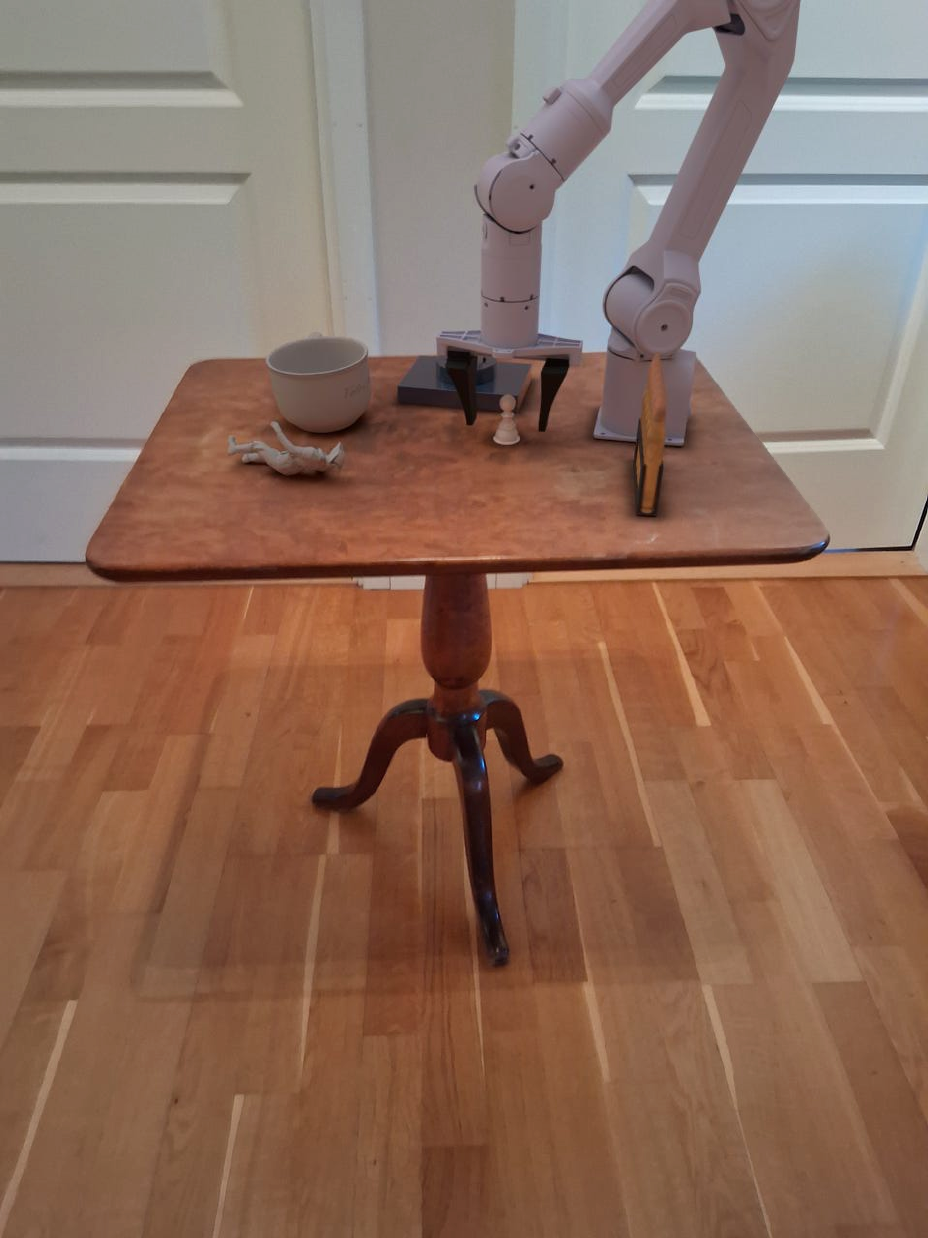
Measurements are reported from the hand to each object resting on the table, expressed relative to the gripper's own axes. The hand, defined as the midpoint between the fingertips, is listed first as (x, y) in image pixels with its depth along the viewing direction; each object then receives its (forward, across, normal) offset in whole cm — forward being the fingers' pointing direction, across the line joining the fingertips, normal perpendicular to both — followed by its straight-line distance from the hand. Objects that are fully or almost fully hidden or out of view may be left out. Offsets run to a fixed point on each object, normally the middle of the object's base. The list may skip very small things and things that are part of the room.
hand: (506, 424), depth 94 cm
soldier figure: (+2, -20, -12) cm, 23 cm away
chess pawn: (+2, 0, 0) cm, 2 cm away
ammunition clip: (+2, +15, -8) cm, 17 cm away
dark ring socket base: (+2, -7, +12) cm, 14 cm away
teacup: (+2, -21, +2) cm, 21 cm away
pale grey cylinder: (-2, -7, +12) cm, 14 cm away
